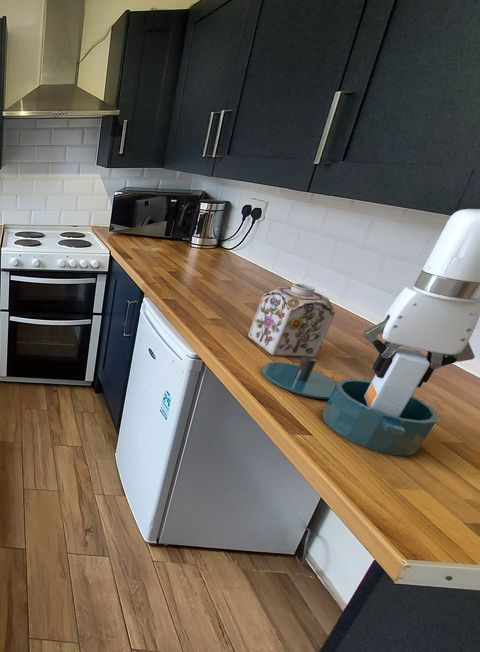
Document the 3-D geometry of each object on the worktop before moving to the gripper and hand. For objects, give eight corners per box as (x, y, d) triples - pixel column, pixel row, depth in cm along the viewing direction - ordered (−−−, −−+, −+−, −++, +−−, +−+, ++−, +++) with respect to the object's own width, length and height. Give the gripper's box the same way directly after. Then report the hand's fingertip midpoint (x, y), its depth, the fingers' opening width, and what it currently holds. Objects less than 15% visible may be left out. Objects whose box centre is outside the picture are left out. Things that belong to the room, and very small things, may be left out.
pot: (401, 418, 83) (419, 388, 80) (433, 476, 68) (457, 442, 65) (316, 395, 90) (330, 366, 87) (328, 443, 75) (345, 410, 72)
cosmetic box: (362, 396, 80) (390, 344, 75) (391, 404, 78) (422, 351, 73) (367, 411, 76) (398, 356, 71) (398, 420, 74) (432, 364, 69)
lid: (334, 379, 97) (346, 355, 94) (345, 409, 85) (358, 383, 83) (260, 360, 104) (269, 337, 102) (261, 386, 93) (271, 361, 90)
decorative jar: (246, 336, 117) (267, 277, 110) (286, 338, 117) (310, 280, 109) (272, 356, 106) (297, 293, 99) (316, 359, 106) (346, 295, 99)
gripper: (513, 291, 65) (453, 385, 73) (376, 271, 74) (334, 357, 81) (537, 304, 60) (469, 405, 67) (386, 281, 68) (340, 373, 75)
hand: (396, 378), depth 74 cm, fingers closed on cosmetic box, 4 cm apart
